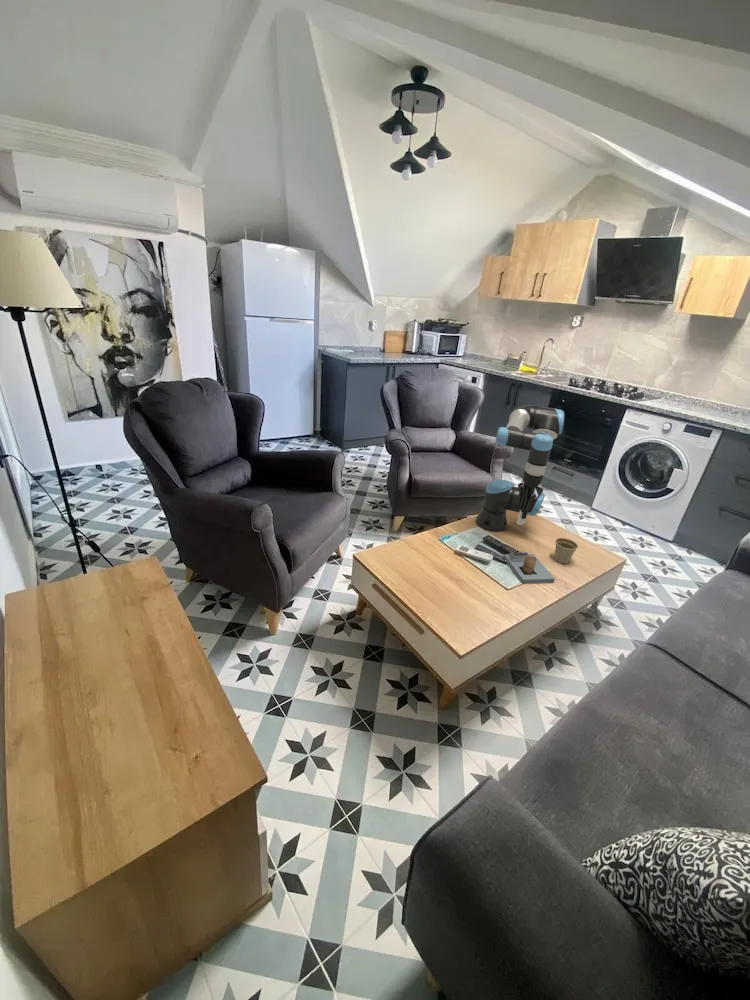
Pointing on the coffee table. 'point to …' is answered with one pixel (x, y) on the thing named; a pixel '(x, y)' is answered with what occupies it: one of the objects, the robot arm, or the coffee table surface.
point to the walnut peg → (529, 565)
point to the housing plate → (539, 571)
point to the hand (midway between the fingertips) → (520, 523)
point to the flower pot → (564, 549)
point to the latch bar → (518, 556)
